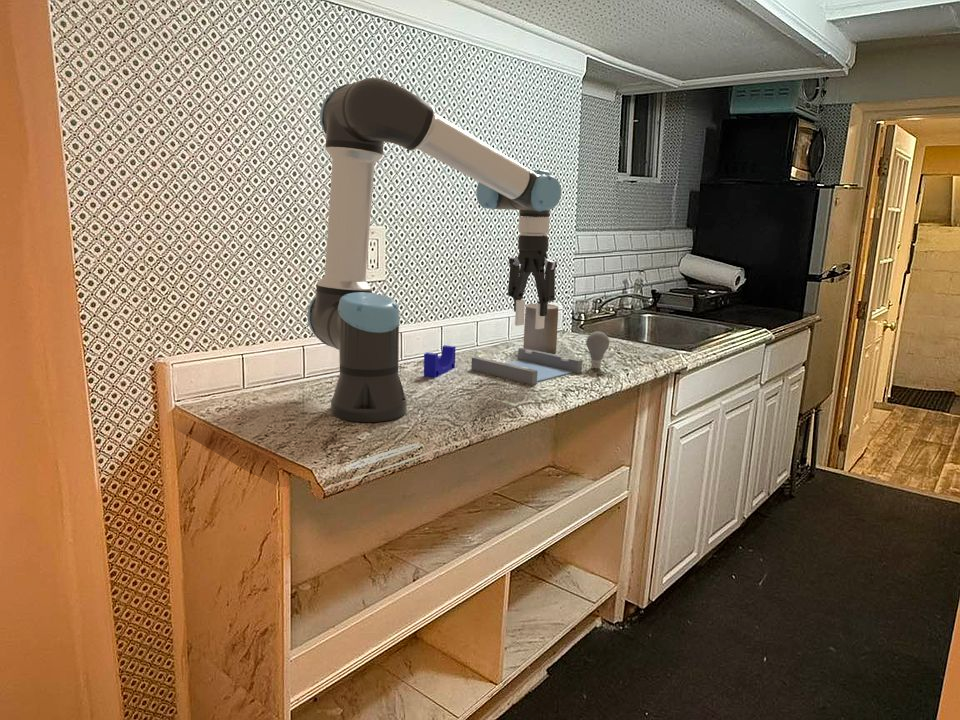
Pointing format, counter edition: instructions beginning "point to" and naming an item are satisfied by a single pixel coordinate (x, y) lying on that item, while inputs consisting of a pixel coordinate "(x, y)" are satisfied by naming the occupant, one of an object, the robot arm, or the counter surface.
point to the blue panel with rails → (529, 366)
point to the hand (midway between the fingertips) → (529, 326)
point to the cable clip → (439, 362)
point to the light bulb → (597, 347)
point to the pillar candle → (541, 330)
